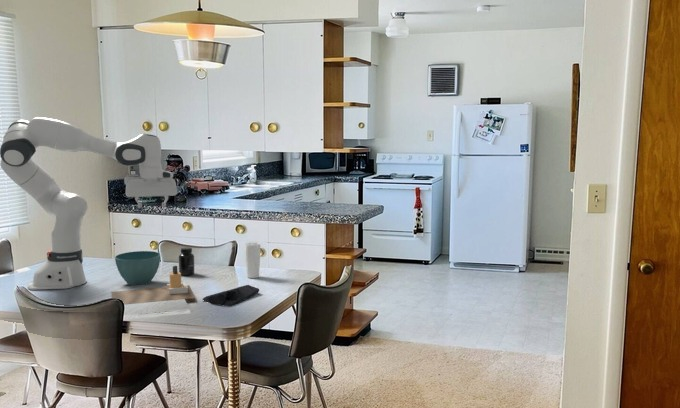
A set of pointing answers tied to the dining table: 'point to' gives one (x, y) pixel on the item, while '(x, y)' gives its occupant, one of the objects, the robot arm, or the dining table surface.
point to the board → (152, 295)
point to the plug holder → (178, 289)
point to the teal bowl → (138, 266)
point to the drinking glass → (252, 259)
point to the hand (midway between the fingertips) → (152, 207)
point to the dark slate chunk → (231, 296)
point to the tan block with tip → (175, 278)
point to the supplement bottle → (186, 262)
